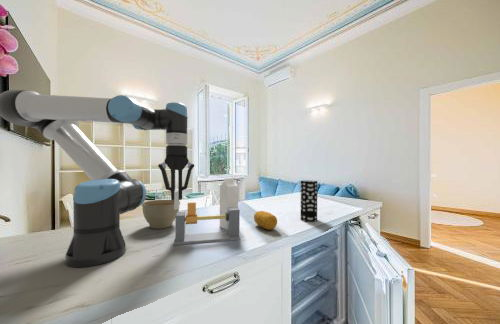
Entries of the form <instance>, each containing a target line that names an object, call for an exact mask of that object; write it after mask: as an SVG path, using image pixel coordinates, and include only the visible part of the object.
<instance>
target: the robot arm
mask: <svg viewBox="0 0 500 324" xmlns="http://www.w3.org/2000/svg"><path fill="white" fill-rule="evenodd" d="M0 117H1V118H3V120H5V121H7V122H8V123H11V124H13V125H16V126H21V127H27V128H32V129H36V130H37V131H39V133H40V134H41V135H42V136H43V137H44V138H45V139H48V141H50V140H52V141H55V143H56V144H57V145H59V147H61V149H62V151H64V152H65V153H66V154H67V156H68V157H69V158H70V159H71V160H72V161H73V162H74V163H75V164H76V165H77V166H78V167H79V168H80V169H81V170H82V171H83V173H84V174H85V175H86V176H87V177H89V180H86V181H83V182H80V183H78V184H77V185H76V186H75V187H74V191H73V196H72V200H73V234H72V235H73V236H72V238H71V240H70V242H69V245H68V248H67V250H66V253H65V257H64V258H65V261H64V262H65V265H66V266H67V267H72V268H86V267H92V266H98V265H102V264H106V263H108V262H112V261H113V260H116V259H118V258H120V257H121V256H123V255H124V254H125V253H126V251H127V250H126V241H125V239H124V238H125V237H124V235H123V234H122V230H121V228H120V226H121V225H120V222H121V221H120V220H121V219H120V218H121V217H120V216H121V215H122V214H126V213H128V212H131V211H134V210H136V209H137V208H138V207H140V206H142V203H144V202H145V201H146V197H147V189H146V186H145V184H144V183H143V182H142V181H140V180H138V179H135V178H132V177H131V176H130V175H129V174H128V173H127V172H126V171H124V170H118V169H117V167H115V165H114V164H113V163H111V161H110V160H109V159H108V158H107V157H106V156H105V155H104V154H103V153H102V152H101V151H100V149H98V148H97V146H95V144H94V143H93V142H92V141H91V140H90V139H89V138H88V137H87V136H86V135H85V134H84V133H83V131H82V130H81V129H80V128H79V126H80V122H99V123H116V124H130V125H132V127H133V128H134V129H136V130H139V131H141V130H142V131H155V130H157V131H158V130H159V131H160V130H161V131H162V130H164V131H165V144H166V147H165V159H164V161H163V162H162V163H159V164H158V165H157V167H158V169H159V170H160V172H161V175H162V179H163V183H164V187H165V190H167V191H170V200H174V210H175V209H179V210H180V205H179V201H182V199H183V191H184V190H185V191H186V190H187V188H188V187H189V182H190V178H191V173H192V170H193V169H194V167H195V164H194V163H192V162H190V161H189V158H188V146H187V145H188V118H189V117H188V108H187V106H186V105H185V104H184V103H181V102H174V101H173V102H168V103H166V105H165V108H163V109H156V108H155V109H154V108H153V109H152V108H151V107H148V106H146V105H144V104H143V103H141V102H139V101H137V100H135V98H132V97H130V96H127V95H123V94H119V95H115V96H113V97H111V98H109V97H93V96H90V97H89V96H74V95H73V96H72V95H57V94H56V95H54V94H53V95H52V94H40V93H38V92H37V91H34V90H27V89H26V90H24V89H9V90H6V91H3V92H2V93H0ZM186 166H187V168H188V169H187V171H186V172H187V173H186V177H185V181H184V184H183V170H184V169H185V168H186ZM166 167H168V169H169V170H170V181H169V177H168V173H167V170H166ZM176 171H178V172H177V173H178V174H177V176H178V178H177V180H178V182H177V183H178V185H177V186H178V187H177V188H178V190H176Z"/></svg>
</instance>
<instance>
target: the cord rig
mask: <svg viewBox="0 0 500 324" xmlns="http://www.w3.org/2000/svg"><path fill="white" fill-rule="evenodd" d="M240 212H241V211H240V209H239V206H238V207H231V208H228V213H225V215H220V214H216V215H214V214H213V215H197V221H207V220H220V219H226V221H227V229H226V230H227V231H216V232H215V231H214V232H203V233H202V232H201V233H189V234H186V211H179V212H177V214H176V218H175V229H174V231H175V234H174V236H175V238H174V240H173V246H176V245H177V246H178V245H188V244H202V243H203V244H204V243H215V242H227V241H238V240H239V241H240V240H241V237H240V220H241V219H240V217H241V216H240Z"/></svg>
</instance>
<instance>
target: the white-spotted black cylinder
mask: <svg viewBox="0 0 500 324" xmlns="http://www.w3.org/2000/svg"><path fill="white" fill-rule="evenodd" d="M300 220H301V221H303V222H305V223H316V222H317V221H318V181H317V180H301V181H300Z"/></svg>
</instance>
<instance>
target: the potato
mask: <svg viewBox="0 0 500 324" xmlns="http://www.w3.org/2000/svg"><path fill="white" fill-rule="evenodd" d="M253 219H254V223H255V224H256V225H257V226H258V227H261V228H263V229H265V230H268V231H270V230H271V231H272V230H274V229H275V228H276V227H277V225H278V218H277V217H276V215H274V214H273V213H271V212H268V211H265V210H259V211H255V213H254V215H253Z"/></svg>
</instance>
